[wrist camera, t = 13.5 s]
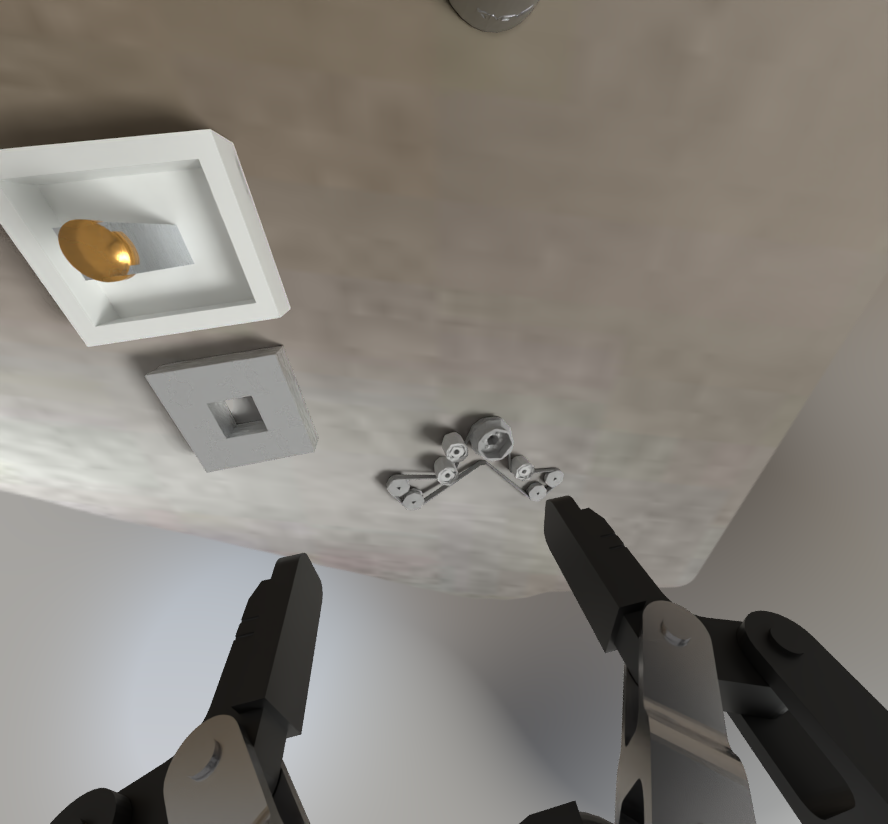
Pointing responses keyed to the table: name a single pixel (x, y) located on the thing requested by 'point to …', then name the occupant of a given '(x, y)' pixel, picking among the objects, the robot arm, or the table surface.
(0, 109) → the table surface
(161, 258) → the lock pin
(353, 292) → the table surface
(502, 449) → the pulley system
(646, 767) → the robot arm
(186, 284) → the parts tray
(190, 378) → the block
